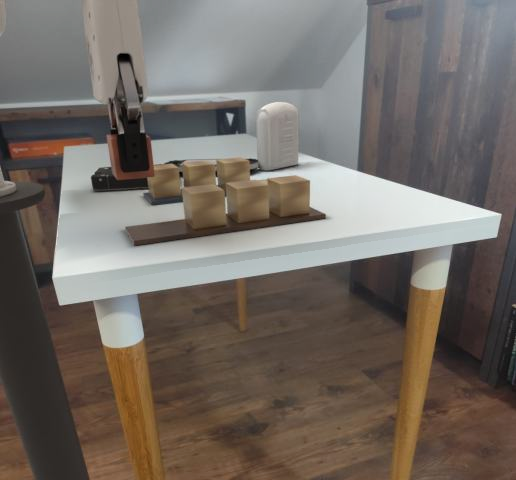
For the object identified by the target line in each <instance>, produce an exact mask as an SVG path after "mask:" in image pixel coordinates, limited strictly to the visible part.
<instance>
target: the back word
mask: <svg viewBox="0 0 516 480" xmlns="http://www.w3.org/2000/svg"><path fill="white" fill-rule="evenodd" d="M216 159H217V160H216V163H217V175H216V174H215V164H213V163H211V162H209V161H196V162H185V163H182V170H183V176H182V179H183V187H193V186H202V185H211V184H215V185H216V186H218V187H220V188H221V189H223V190H224V191H225V197H227V196H226V183H229V182H238V181H247V180H251V173H250V163H249V160H246V159H247V158H244V159H243V157H241V156H240V157H228V158H216ZM163 164H164V163H163ZM154 173H155V177H147V180H148V187H149V188H148V192H143V193H142V194H143V197H144V198H145V200H146V201H147V202H148V203H149V204H150V205H151V206H156V205H157V206H158V205H165V204H173V203H181V202H182V203H183V195H182V187H181V179H180V177H181V176H179V168H178V167H177V166H175V165H173V164H164V165H157V164H154ZM216 176H217V177H216ZM257 180H258V181H260V182H263V183H265V184H267V178H266V179H257Z"/></svg>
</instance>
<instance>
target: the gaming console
mask: <svg viewBox="0 0 516 480" xmlns="http://www.w3.org/2000/svg"><path fill="white" fill-rule="evenodd" d="M242 158H243V157H242ZM217 159H218V158H199V159H197V158H195V159H180V160H178V159H174V160H168V161H166V162H164V163H163V164H176V166H177V167H178V168H179V177H183V170H182V163H185V162H196V161H209V162H211V163H213V164H215V174H216V176H217V163H216V160H217ZM243 159H246V160H249V163H250V174H253V173H254V172H256V171H257V170H258V169H259V168H258V166H259V161H258V160H257V158H243Z"/></svg>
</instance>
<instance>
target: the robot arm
mask: <svg viewBox="0 0 516 480" xmlns="http://www.w3.org/2000/svg"><path fill="white" fill-rule="evenodd" d="M81 5H82V6H81V9H82V18H83V19H82V21H83V29H84V35H85V43H86V50H87V57H88V64H89V71H90V77H91V78H90V79H91V87H92V94H93V98H94V99H95V100H96V101H98V102H99V103H101V104H102V105H107V107H108V116H109V124H110V129H109V131H110V135H113V134H117V135H116V138H117V145H118V152H119V159H120V165H121V170H122V171H123V172H124V173H128V172H140V171H148V170H149V169H150V165H149V157H148V148H147V139H146V135H147V133H146V130H145V129H146V128H145V121H144V117H143V109H142V104H143V103H144V102H145V101H146V100H147V99H148V81H147V80H148V79H147V67H146V59H145V52H144V51H145V50H144V42H143V36H142V35H143V34H142V27H141V19H140V17H141V16H140V13H139V12H140V11H139V7H138V6H139V5H138V0H81ZM6 26H7V11H6V5H5V0H0V37H2V35H3V34H4V32H5V30H6ZM13 182H14V181H10V180H5V178H4V175H3V170H2V168H1V166H0V197H3V196H6V195H9V194H12V193H14V192H15V191H16V190H17V188H16V185H15V183H13Z"/></svg>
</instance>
